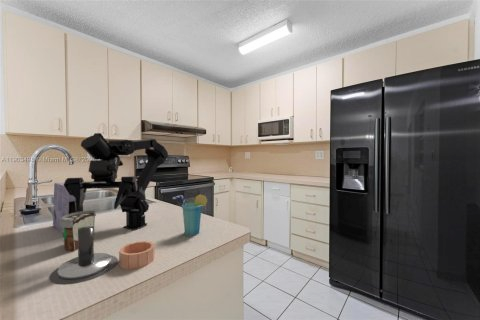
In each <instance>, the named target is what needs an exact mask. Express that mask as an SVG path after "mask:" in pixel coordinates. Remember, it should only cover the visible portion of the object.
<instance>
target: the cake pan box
mask: <svg viewBox="0 0 480 320" xmlns="http://www.w3.org/2000/svg"><path fill="white" fill-rule="evenodd" d="M64 182H65V181H63V182H54V183H53V184H54V186H53V209H52V210H53V211H52V220H53V221H52V226H53V227H55V228H56V229H57V230H58V231H59V232H61V233H63V229H62V227H60V226H59V224H60V220H61V219H62V217H63V216H65V215H68V214H71V213H76V212H81V211H84V204H83V205H82V207H81V209H80V211H77V208H76V199H75V197H74V196H72V195H69V193H68V191H67V190H66V188H65V186H64V185H63V184H64Z"/></svg>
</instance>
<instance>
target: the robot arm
mask: <svg viewBox="0 0 480 320" xmlns="http://www.w3.org/2000/svg"><path fill="white" fill-rule="evenodd" d="M80 147H82V149H83V150H84V151H86V153H87V154H88V155H89V156H90V157H91V158H92V159H93V160H90V161H89V166H88V173H90V174H91V175H90V178H91V180H90V181H85V180H84V179H83V177H67V178H66V179H65V180H64V181H63V182H64V184H63V185H64V186H65V188H66V190H67V191H68V193H69V195H72V196H74V197H75V199H76V208H77V211H80V209H81V207H82V205H83V206H84V202H85V198H86V193H87V190H89V189H90V190H91V189H97V190H98V189H102V190H103V189H104V190H107V189H118V191H117V194H116V197H115V200H114V204H113V208H114V210H117V209H118V207H119V206H120V209H121V212H122V213H126V214H125V215H126V219H125V220H126V221H125V222H126V223H125V225H123V226H122V227H123V229H128V230H138V229H141V228H143V227H145V226H147V225H148V223H147V222H146V215H145V213H147V212H148V211H149V208H150V205H149V203H148V202H147V201H146V199H147V198H146V190H147V188H148V187H149V185H150V182H151V181H152V179H153V176H154V175H155V173H156V171H157V169H158V167H160V166H161V165H162V164H164V163H165V162H166V160H168V156H169V153H168V151H167V149H166V147H164V145H162V144H160V143H159V142H158V141H157V140H156V139H154V138H144V139H137V140H132V139H131V140H130V139H110V140H108V141H107V140H106V139H105V137H104V136H103V134H102V133H101V132H96V133H94V134H93V135H90V136H88V137H87V138H85V139H83V140H82V141H81V143H80ZM139 150H144V153H145V154H146V160H147V162H146V164H145V166H144V167H143V169H142V171H141V172H140V174H139V176H138V178H136V177H135V176H133V175H132V176H121V177H120V181H116V179H118V170H119V167H121V166H123V165H124V163H123V162H122V160H121V157H120V156H123V157H125V156H130V155H132V154H133V153H135V151H139ZM92 180H93V181H92Z"/></svg>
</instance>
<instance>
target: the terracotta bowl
mask: <svg viewBox="0 0 480 320" xmlns="http://www.w3.org/2000/svg"><path fill="white" fill-rule="evenodd" d="M155 247H156V246H155V243H154V242H152V241H147V240H144V241H143V240H141V241H135V242H130V243H127V244H125V245H123V246H122V247H121V248H120V249H119V250H118V265H119V267H121V268H122V269H126V270H132V269H139V268H143V267H145V266H146V267H147V266H148V265H150V264H151V263H153V262H154V260H155V257H156V256H155V254H156V252H155V251H156V250H155V249H156V248H155Z"/></svg>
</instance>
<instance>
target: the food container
mask: <svg viewBox="0 0 480 320" xmlns="http://www.w3.org/2000/svg"><path fill="white" fill-rule="evenodd" d="M96 216H97V213H96V210H83V211H81V212H76V213H71V214H68V215H65V216H63V217H62V219H61V220H60V224H59V226H60V227H62V229H63V232H62V235H63V243H64V245H63V246H64V249H65V251H69V252H76V251H78V229H79V228H82V227H87V226H92V227H94V228H95V223H96V222H95V221H96V220H95V219H96Z"/></svg>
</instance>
